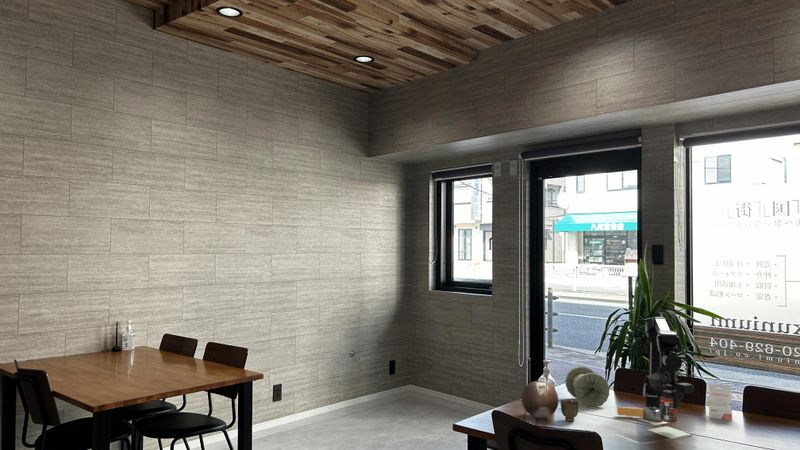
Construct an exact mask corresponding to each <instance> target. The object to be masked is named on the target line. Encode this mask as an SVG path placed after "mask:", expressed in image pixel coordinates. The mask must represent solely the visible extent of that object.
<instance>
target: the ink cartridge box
mask: <svg viewBox="0 0 800 450" xmlns="http://www.w3.org/2000/svg"><path fill="white" fill-rule="evenodd" d="M719 387H721V388H719ZM731 387H732V386H731V385H730V384H723V383H711V382H710V383H708V393H707V394H708V417H709V418H710V419H711V418H713V419H719V420H727V421H731V420H732V421H733V408H732V407H733V405H732V391H731V389H732V388H731Z"/></svg>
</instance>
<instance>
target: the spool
mask: <svg viewBox="0 0 800 450" xmlns="http://www.w3.org/2000/svg"><path fill="white" fill-rule="evenodd" d="M565 388H566V390H567V392H568V393H569V394H570V395H571V396H572V397H574V398H575V399H577V402H578V403H579V404H581V405H582V406H584V407H587V408H589V407H590V408H592V409H593V408H594V409H595V408H599V407H601V406H603V405H604V404H605V403H607V400H608V399H609V396H610V386H609V384H608V381H607V380H606V379H605V378H604V377H603V376H601V375H600V374H598V373H595V372H594V371H593V370H592V369H591V368H588V367H586V366H577V367H573V368H571V370H570V371H569V372H568V373H567V375H566V378H565Z"/></svg>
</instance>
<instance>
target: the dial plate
mask: <svg viewBox="0 0 800 450" xmlns="http://www.w3.org/2000/svg"><path fill="white" fill-rule="evenodd" d="M631 418H633V419H635V420H639V421H642V422H644V423H647V424H651V425H654V426H658V425H663V424H669V423H668V422H664V421H663V422H651V421H647V420H644V419H643V417H639V416H631Z"/></svg>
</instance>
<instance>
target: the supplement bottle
mask: <svg viewBox="0 0 800 450" xmlns="http://www.w3.org/2000/svg"><path fill="white" fill-rule="evenodd" d="M671 391H672V390H669V389H667V390H664V391H663V395H662V396H661V397H660V419H661V420H662V421H664V422H668V423H667V424H672V423H673V424H675V423H677V421H678V408H677V409H674V399H673V394H672V392H671Z"/></svg>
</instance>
